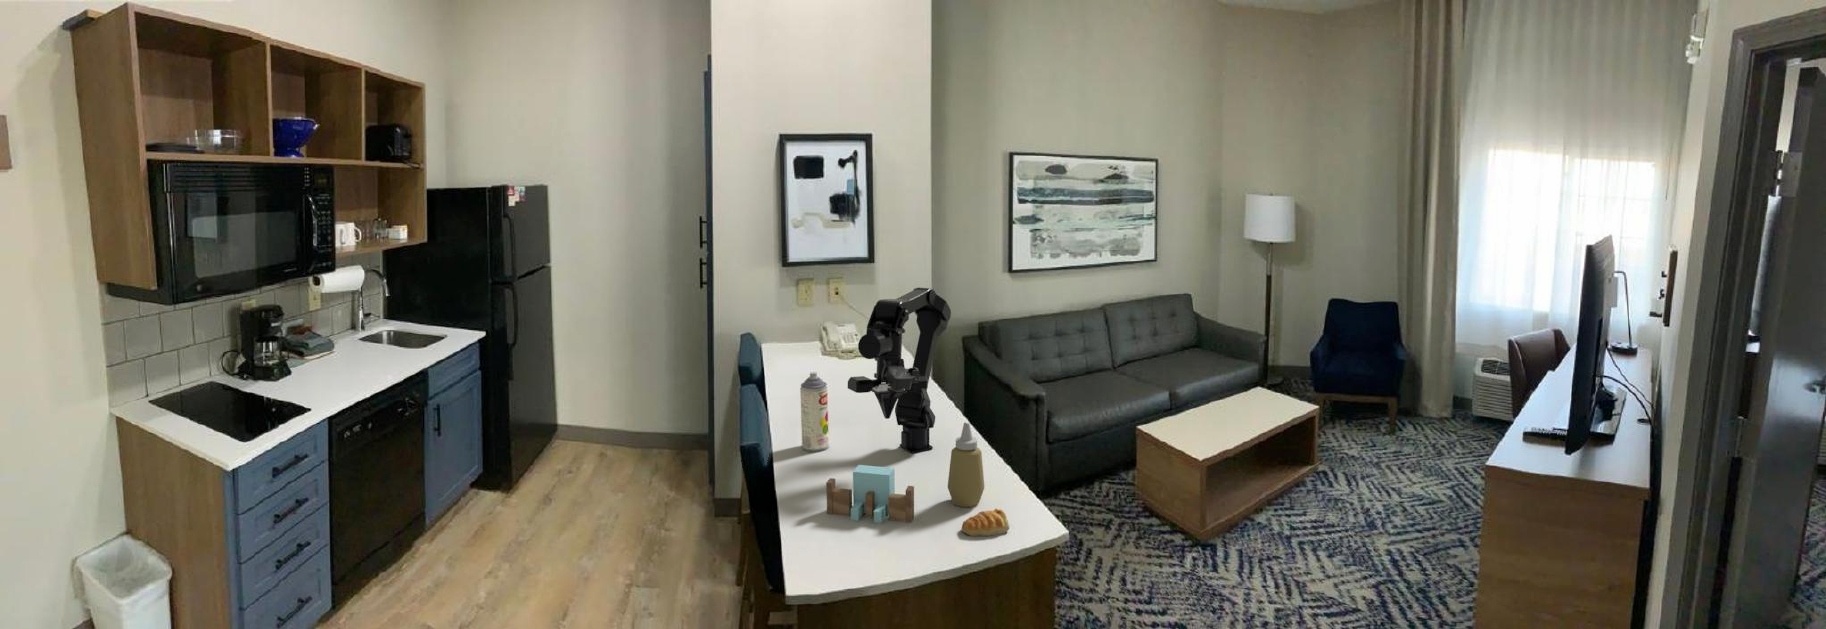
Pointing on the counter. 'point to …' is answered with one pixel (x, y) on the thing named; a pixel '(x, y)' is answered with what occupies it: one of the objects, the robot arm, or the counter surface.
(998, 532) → the pastry
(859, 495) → the pale blue brick
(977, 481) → the squeeze bottle
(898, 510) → the rail
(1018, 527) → the counter surface
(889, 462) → the counter surface
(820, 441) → the aerosol can
